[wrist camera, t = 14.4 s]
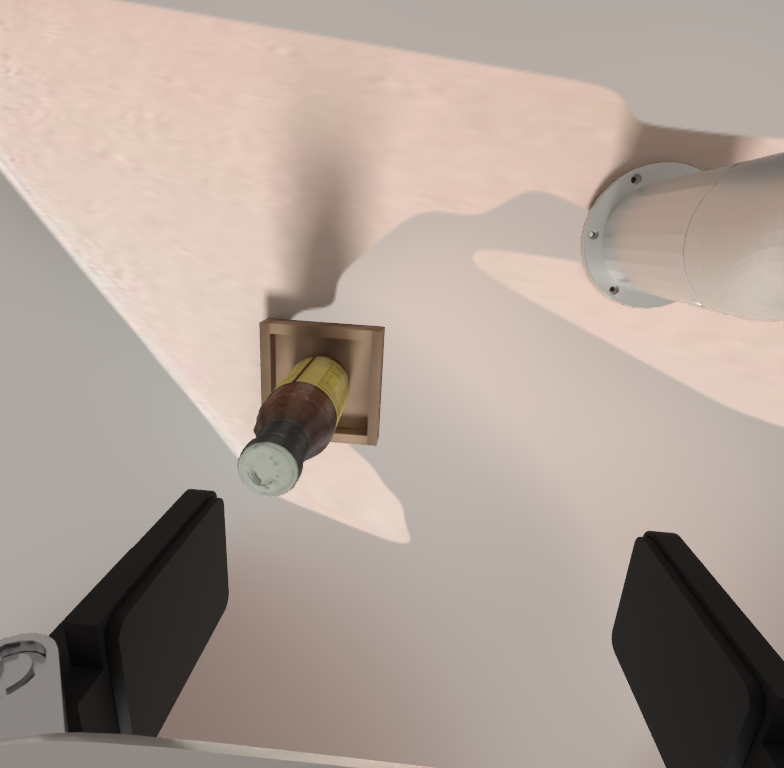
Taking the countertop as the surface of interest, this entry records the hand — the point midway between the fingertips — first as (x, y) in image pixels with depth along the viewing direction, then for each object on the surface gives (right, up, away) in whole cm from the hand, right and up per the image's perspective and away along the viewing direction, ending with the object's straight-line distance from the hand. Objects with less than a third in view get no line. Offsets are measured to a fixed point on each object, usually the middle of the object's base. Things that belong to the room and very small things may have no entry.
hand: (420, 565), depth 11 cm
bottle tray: (-8, +5, +39) cm, 40 cm away
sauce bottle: (-8, +4, +39) cm, 40 cm away
